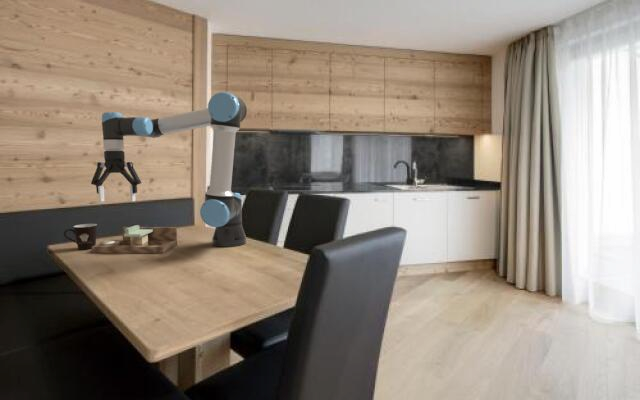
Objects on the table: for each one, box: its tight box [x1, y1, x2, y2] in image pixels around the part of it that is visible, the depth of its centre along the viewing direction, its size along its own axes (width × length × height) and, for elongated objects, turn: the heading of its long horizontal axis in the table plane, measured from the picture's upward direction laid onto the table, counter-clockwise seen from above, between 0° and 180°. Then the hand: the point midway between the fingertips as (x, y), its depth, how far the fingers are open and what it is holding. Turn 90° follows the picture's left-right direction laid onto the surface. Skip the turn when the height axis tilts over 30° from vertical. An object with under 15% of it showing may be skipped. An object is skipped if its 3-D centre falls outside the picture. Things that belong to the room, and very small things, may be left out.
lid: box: [124, 224, 153, 237], centre depth 165 cm, size 7×11×3 cm, turn 178°
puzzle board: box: [91, 226, 178, 254], centre depth 166 cm, size 30×14×8 cm, turn 88°
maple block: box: [130, 234, 148, 245], centre depth 166 cm, size 5×5×6 cm
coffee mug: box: [63, 223, 98, 251], centre depth 167 cm, size 12×9×10 cm
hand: (117, 201), depth 164 cm, fingers open, 13 cm apart
